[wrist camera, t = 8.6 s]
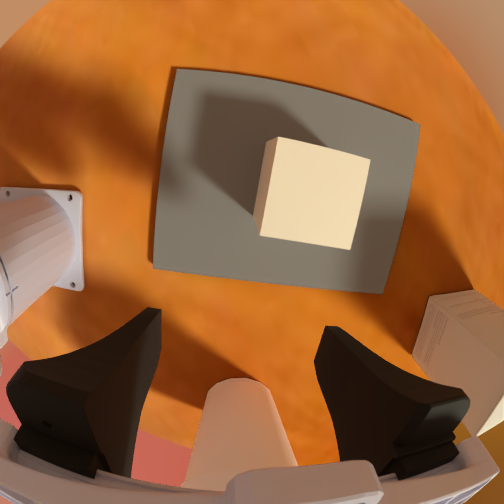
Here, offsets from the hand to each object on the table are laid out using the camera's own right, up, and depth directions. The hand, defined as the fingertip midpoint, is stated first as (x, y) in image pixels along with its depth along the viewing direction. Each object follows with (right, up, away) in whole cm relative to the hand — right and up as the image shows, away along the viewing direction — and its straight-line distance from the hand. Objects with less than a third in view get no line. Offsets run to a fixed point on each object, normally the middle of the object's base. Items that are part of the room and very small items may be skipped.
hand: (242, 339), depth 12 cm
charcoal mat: (+3, +8, +7) cm, 11 cm away
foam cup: (-1, -10, +14) cm, 17 cm away
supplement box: (+20, -4, +13) cm, 24 cm away
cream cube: (+3, +8, +7) cm, 11 cm away
